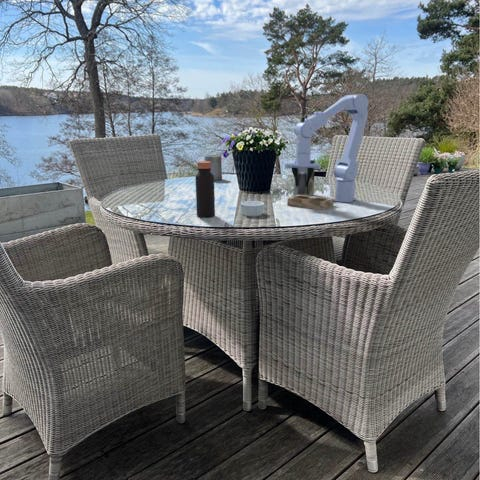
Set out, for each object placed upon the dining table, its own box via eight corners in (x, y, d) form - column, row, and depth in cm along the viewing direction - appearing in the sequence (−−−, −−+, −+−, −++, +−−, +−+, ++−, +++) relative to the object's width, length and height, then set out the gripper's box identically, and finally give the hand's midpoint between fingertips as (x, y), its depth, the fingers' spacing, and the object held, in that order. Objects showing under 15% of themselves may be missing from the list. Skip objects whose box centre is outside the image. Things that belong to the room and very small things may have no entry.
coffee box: (301, 193, 201) (302, 159, 197) (313, 194, 198) (315, 159, 193) (293, 196, 194) (294, 161, 189) (306, 197, 191) (308, 161, 186)
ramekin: (268, 214, 161) (268, 202, 159) (253, 218, 154) (253, 206, 153) (250, 210, 166) (250, 199, 165) (235, 214, 160) (235, 203, 159)
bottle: (193, 216, 157) (191, 162, 151) (204, 212, 162) (202, 160, 156) (207, 218, 153) (205, 163, 147) (218, 215, 159) (217, 161, 153)
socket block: (298, 201, 183) (298, 193, 182) (332, 205, 174) (333, 197, 173) (287, 205, 175) (287, 197, 174) (323, 209, 166) (323, 201, 165)
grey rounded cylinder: (299, 192, 178) (300, 171, 175) (307, 193, 176) (308, 172, 173) (295, 193, 175) (296, 172, 172) (303, 194, 173) (304, 173, 171)
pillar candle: (215, 177, 251) (214, 152, 247) (225, 179, 244) (224, 153, 240) (202, 179, 246) (200, 153, 241) (211, 181, 238) (210, 154, 234)
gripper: (321, 152, 173) (319, 185, 177) (285, 151, 175) (285, 184, 179) (321, 153, 166) (319, 187, 170) (285, 153, 169) (284, 187, 173)
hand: (302, 186), depth 174 cm, fingers closed on grey rounded cylinder, 4 cm apart
